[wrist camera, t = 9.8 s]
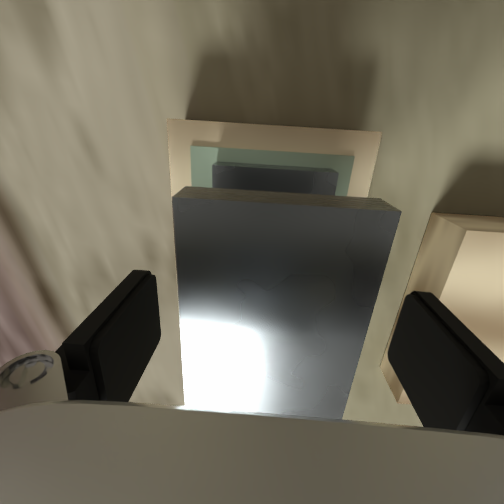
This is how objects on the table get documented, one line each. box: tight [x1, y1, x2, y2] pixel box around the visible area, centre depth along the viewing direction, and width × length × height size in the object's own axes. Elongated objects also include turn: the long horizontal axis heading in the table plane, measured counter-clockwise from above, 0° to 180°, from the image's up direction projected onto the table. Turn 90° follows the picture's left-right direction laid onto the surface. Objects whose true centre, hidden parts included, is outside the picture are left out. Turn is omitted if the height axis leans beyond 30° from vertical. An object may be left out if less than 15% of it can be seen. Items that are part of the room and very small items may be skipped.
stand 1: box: [167, 119, 382, 337], centre depth 15 cm, size 12×9×3 cm
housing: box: [172, 161, 401, 420], centre depth 11 cm, size 9×5×7 cm, turn 177°
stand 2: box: [380, 212, 504, 404], centre depth 17 cm, size 12×9×3 cm
